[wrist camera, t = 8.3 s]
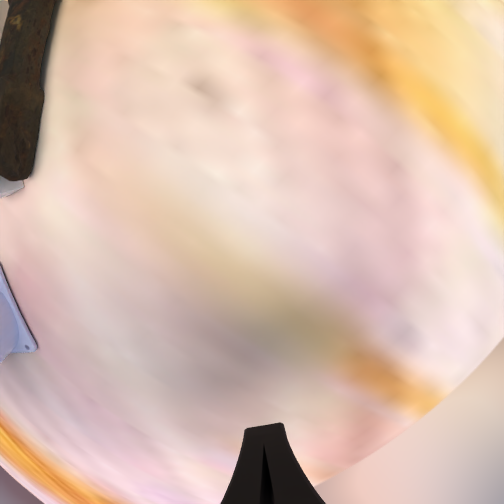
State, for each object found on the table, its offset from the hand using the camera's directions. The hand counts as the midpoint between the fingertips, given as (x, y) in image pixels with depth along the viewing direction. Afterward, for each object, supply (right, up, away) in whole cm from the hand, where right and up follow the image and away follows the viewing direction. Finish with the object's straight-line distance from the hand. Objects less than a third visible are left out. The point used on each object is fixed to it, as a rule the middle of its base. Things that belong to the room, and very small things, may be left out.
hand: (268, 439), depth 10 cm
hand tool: (-14, +21, +3) cm, 26 cm away
